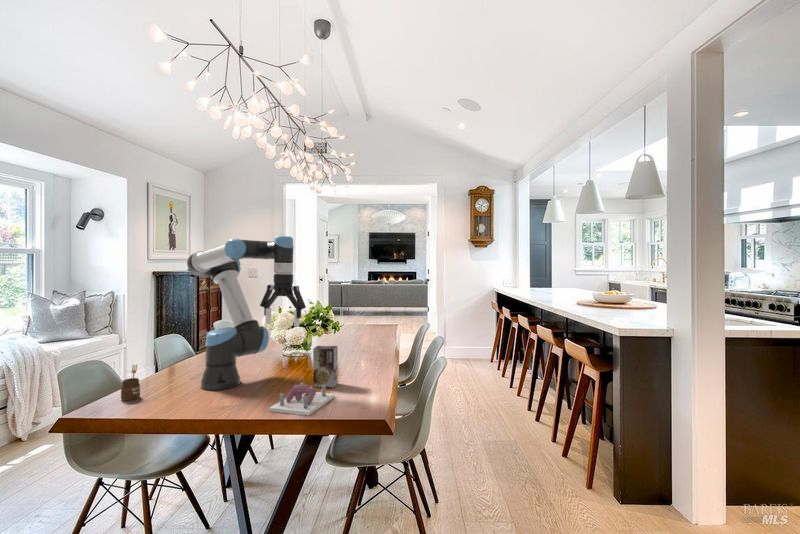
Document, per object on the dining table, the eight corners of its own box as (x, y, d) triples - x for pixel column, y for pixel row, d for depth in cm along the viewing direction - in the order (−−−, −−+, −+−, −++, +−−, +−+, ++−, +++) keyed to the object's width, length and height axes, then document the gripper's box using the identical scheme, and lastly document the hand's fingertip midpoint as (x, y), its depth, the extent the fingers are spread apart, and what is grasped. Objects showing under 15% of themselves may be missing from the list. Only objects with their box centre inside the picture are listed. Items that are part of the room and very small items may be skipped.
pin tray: (269, 411, 134) (269, 395, 134) (299, 393, 154) (299, 380, 154) (308, 415, 130) (308, 400, 130) (334, 397, 149) (334, 383, 149)
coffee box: (338, 383, 168) (338, 345, 168) (334, 387, 161) (334, 348, 161) (317, 382, 168) (317, 345, 169) (312, 387, 162) (312, 348, 162)
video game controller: (314, 406, 140) (319, 386, 143) (308, 404, 136) (313, 384, 139) (290, 403, 143) (295, 384, 146) (284, 401, 139) (289, 381, 142)
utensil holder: (117, 401, 143) (117, 368, 143) (126, 396, 149) (126, 364, 149) (135, 400, 144) (135, 368, 144) (143, 395, 150) (143, 364, 150)
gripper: (252, 272, 161) (250, 324, 162) (305, 274, 154) (304, 328, 154) (263, 272, 169) (262, 321, 169) (314, 274, 161) (313, 325, 161)
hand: (282, 325), depth 161 cm, fingers open, 13 cm apart
